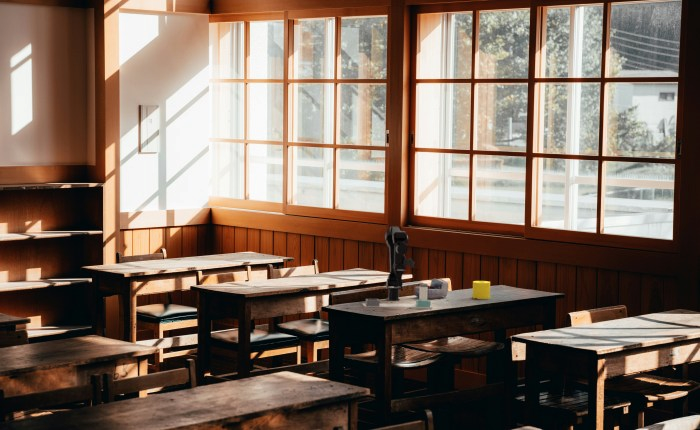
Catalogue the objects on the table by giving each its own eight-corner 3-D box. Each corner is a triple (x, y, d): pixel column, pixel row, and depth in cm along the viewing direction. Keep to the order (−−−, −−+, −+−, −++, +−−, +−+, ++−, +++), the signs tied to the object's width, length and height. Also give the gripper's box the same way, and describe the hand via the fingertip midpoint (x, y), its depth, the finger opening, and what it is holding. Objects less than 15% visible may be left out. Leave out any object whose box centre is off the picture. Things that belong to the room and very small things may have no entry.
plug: (419, 305, 576) (419, 283, 575) (424, 305, 577) (424, 283, 577) (422, 306, 573) (422, 284, 572) (427, 306, 574) (427, 284, 574)
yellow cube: (491, 297, 623) (492, 281, 622) (486, 299, 614) (487, 283, 613) (475, 296, 627) (476, 280, 626) (470, 298, 618) (470, 282, 617)
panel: (362, 305, 581) (362, 297, 580) (429, 305, 584) (429, 298, 583) (364, 308, 569) (364, 300, 568) (432, 308, 572) (432, 301, 571)
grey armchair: (451, 279, 618) (426, 282, 605) (450, 297, 618) (426, 301, 606) (435, 277, 627) (410, 279, 615) (435, 295, 628) (410, 298, 615)
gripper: (415, 254, 577) (414, 283, 577) (412, 253, 595) (412, 281, 595) (394, 254, 577) (394, 283, 576) (393, 253, 595) (392, 281, 595)
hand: (399, 282), depth 586 cm, fingers open, 9 cm apart
